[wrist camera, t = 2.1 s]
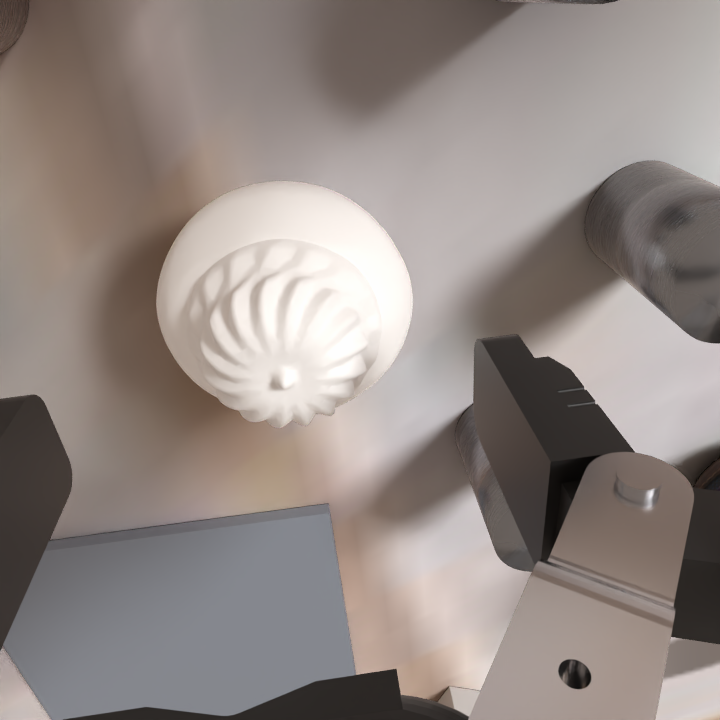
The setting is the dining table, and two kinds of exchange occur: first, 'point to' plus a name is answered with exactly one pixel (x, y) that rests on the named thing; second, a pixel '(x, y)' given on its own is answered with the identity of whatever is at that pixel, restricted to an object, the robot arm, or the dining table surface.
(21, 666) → the rubber mat
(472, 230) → the dining table surface
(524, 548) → the posts
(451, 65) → the dining table surface
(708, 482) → the mate gourd
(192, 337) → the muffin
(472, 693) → the stool
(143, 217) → the dining table surface
